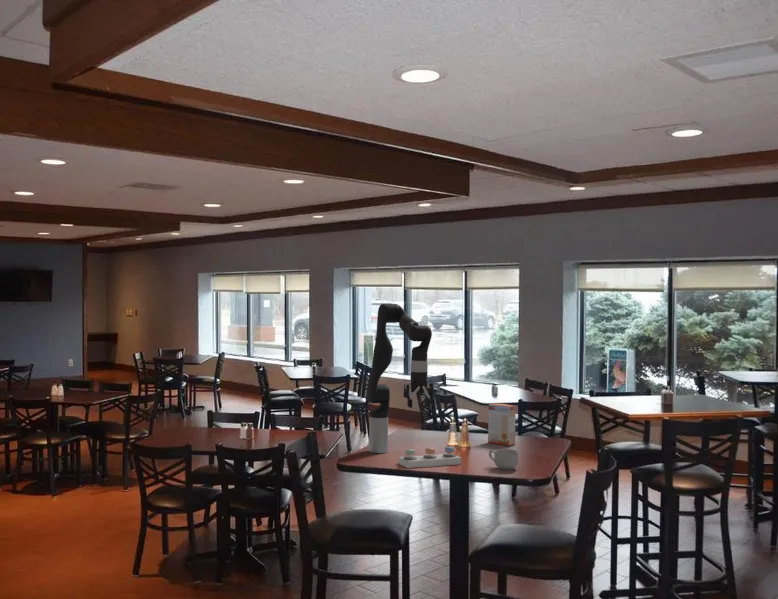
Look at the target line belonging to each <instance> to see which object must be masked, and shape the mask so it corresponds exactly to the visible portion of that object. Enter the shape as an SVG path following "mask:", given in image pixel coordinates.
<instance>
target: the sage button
mask: <svg viewBox="0 0 778 599" xmlns="http://www.w3.org/2000/svg"><path fill="white" fill-rule="evenodd" d="M404 451H405V455H406V456H416V449H413V448H408V449H405V450H404Z"/></svg>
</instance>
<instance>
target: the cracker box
mask: <svg viewBox="0 0 778 599" xmlns="http://www.w3.org/2000/svg"><path fill="white" fill-rule="evenodd" d="M516 411H517V410H516V405H514V404H513V405H511V404H504V403H497V402H494V403H488V420H487V421H488V424H487V425H488V432H487V443H491V444H494V445H495V444H497V445H502V446H508V447H509V446H515V445H516V414H517V413H516Z"/></svg>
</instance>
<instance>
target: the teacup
mask: <svg viewBox="0 0 778 599" xmlns="http://www.w3.org/2000/svg"><path fill="white" fill-rule="evenodd" d="M492 453H493V454H494V457H493V455H492ZM488 456H489V458H490V459H491V460H492V461H493V463H494V464H495V466H496V467H497V468H498V469H500V470H501V471H502V470H503V471H513V470H514V469H515V468H516V467H517V466H518V464H519V451H518V450H517V449H513V448H499V449H498V448H497V449H495V450H494V449H491V450H489V451H488Z"/></svg>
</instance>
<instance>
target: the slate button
mask: <svg viewBox="0 0 778 599" xmlns="http://www.w3.org/2000/svg"><path fill="white" fill-rule="evenodd" d="M444 453H446V454H454V453H455V447H454V446H445V447H444Z"/></svg>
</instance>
